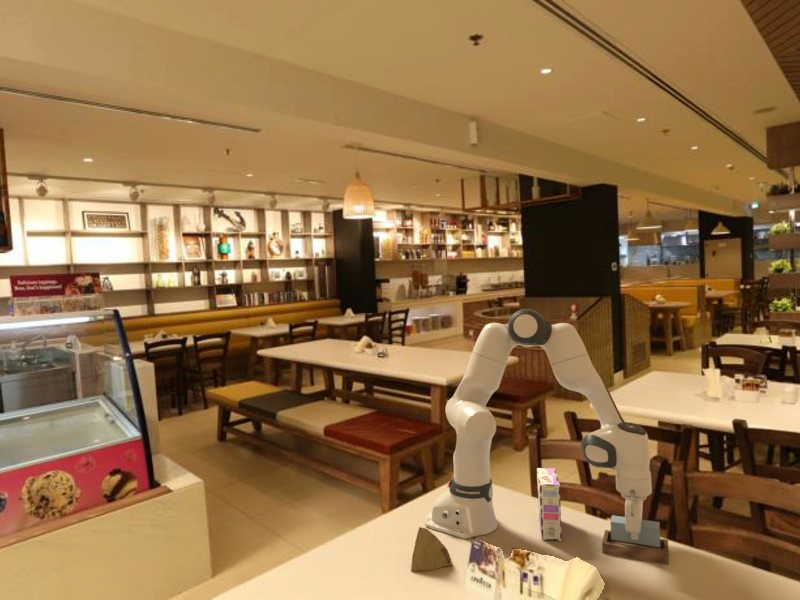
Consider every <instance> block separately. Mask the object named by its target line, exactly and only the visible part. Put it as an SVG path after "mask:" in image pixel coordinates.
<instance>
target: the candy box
mask: <svg viewBox="0 0 800 600" xmlns="http://www.w3.org/2000/svg"><path fill="white" fill-rule="evenodd" d="M536 481H537V500H538V502H537V503H538V516H539V517H538V519H539V520H538V521H539V529H540V534H541V540H542V541H555V542H556V541H557V542H561V541H563V536H562V511H561V510H562V509H561V508H562V507H561V506H562V505H561V485H560V480H559V477H558V473H557V470H556V468H555V467H553V468H552V467H546V468H545V467H544V468H543V467H537V468H536Z"/></svg>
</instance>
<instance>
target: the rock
mask: <svg viewBox="0 0 800 600" xmlns="http://www.w3.org/2000/svg"><path fill="white" fill-rule="evenodd" d="M416 534H417V535H416V538H415V543H414V547H413V553H412V556H411V557H412V558H411V565H410V566H411V568H410V572H411V573H413V572H427V571H432V570H436V569H441V568H443V567H449V566H452V565H453V562H452V558H451V555H450V553H449V551H448V549H447V547H446V546H445V544H443V543H442V541H441V540H440V539H439V538H438V537H437V536H436V535H435V534H434V533H432V531H430V530H429V528H428V529H427V528H426V527H421V526H420V527H419V528H418V531H417V533H416Z"/></svg>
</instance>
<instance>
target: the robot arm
mask: <svg viewBox="0 0 800 600" xmlns="http://www.w3.org/2000/svg"><path fill="white" fill-rule="evenodd" d="M536 346H537V347H540V348H542V349H543V350H544V352H545V354H546V356H547V358H548V360H549V363H550V366H551V370H552V373H553V375H554V376H555V378H556V381H557V382H558V384H559V385H560V386H562V388H564V389H566V390H569V391H572V392H577V393H580V394H581V395H583V396H585V397H586V398H587V400H589V402H590V404H591V406H592V408H593V410H594V413H595V414H596V416H597V418H598V420H599V422H600V428H599V429H596V430H595V431H592V432H590V433H588V434H586V435H585V436H584V437H582V439H581V442H580V451H581V454H582V457H583V458H584V459H585V461H586V462H587V463H589V464H590V465H591V466H593V467H596V468H603V469H605V468H606V469H614V471H615V490H616V491H617V492H618V493H620V494H621V495H620V496H621V497H622V498H623V499H624V500H625V502H624V517H625V529H626V531H627V532H629V533H631V539H632V540H638V539H639V534H640V533H641V524H642V520H643V506H644V505H643V504H644V501H646V500H647V497H648V496H650V495H651V494H652V492H653V490H652V472H651V470H650V464H651V463H650V462H651V448H650V441H649V436H648V433H647V431H646V430H645V428H643V427H642V426H640V425H638V424H636V423H633V422H626V421H625V420H624V418H623V416H622V415H621V412H620V411H619V409H618V407H617V405H616V403H615V401H614V399H613V396H612V395H611V392H610V391H609V389H608V387H607V385H606V383H605V381H604V380H603V379H602V376H600V375H599V373H598V372H597V370H596V368H595V367H594V365H593V362H592V360H591V359H590V356H589V354H588V351H587V349H586V346H585V344H584V342H583V340H582V338H581V337H580V334H579V332H578V331H577V329H576V328H575V327H574V325H572V324H570V323H568V322H567V323H566V322H559V323H555V324H552V323H551V321H550V322H549V320H547V319H546V318H545V317H544V316H542V315H541V313H539V312H537V311H536V310H533V309H530V308H523V309H519V310H517V311H515V312H514V313H513V314H512V315H511V316H510V318H509V320H508V322H507V323H505V324H503V323H501V322H500V323H499V322H491V323H486V324H485V325H484V327H483V328H482V329H481V331H480V334H479V335H478V337H477V339H476V341H475V344H474V347H473V349H472V351H471V354H470V358H469V361H468V363H467V366H466V369H465V373H464V374H463V378H462V379H461V380H460V383H459V385H458V386H457V388H456V389H455V392H454V394H453V396H451V398H449V400H448V401H447V402H446V404H445V411H444V412H445V416H446V419H447V421H448V423H449V424H450V425H451V427H453V429H455V432H456V442H455V443H456V444H455V450H454V453H453V455H452V460H453V461H452V462H453V463H452V464H453V475H452V476H451V478H450V479H449V480H448V482H447V483H446V485H447V490H446V491H445V492H444V493H442V494H441V495H439V496H438V497H437V498H436V499H435V501H434V502H433V505H432V509H431V511H430V512H429V513H428V514H427V515H426V517H425V519H424V526H425V528H426V527H427V528H428V527H429V528H428V529H433V530H434V531H438V532H442V533H444V534H448V535H451V536H455V537H458V538H461V539H464V540H465V539H471V538H473V537H477V536H484V535H488V534H490V533H493V532H494V531H496V529H498V527H499V523H498V521H497V518H496V514H495V509H494V505H493V496H494V495H493V494H494V492H493V491H494V489H493V488H494V487H493V483H492V482H493V481H492V478H491V463H490V453H491V452H490V451H491V446H492V441H493V437H494V436H495V434H496V432H497V422H496V420H495V417H494V415H493V414H492V412H491V411H490V410H489V409H488V408H487V407H486V406H487V404H488V402H489V400H490V399H491V397H492V396H493V394H494V393H495V392H496V391H497V390H498V389H499V388H500V385H501V382H502V379H503V376H504V374H505V370H506V367H507V364H508V360H509V358H510V355H511V353H512V351H513V349H514V348H515V347H517V348H518V347H519V348H520V347H523V348H533V347H536ZM448 488H449V489H448Z"/></svg>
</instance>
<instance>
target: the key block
mask: <svg viewBox="0 0 800 600" xmlns="http://www.w3.org/2000/svg"><path fill="white" fill-rule="evenodd" d="M660 524H661V523H660V521H653V520H648V519H647V520H646V519H642V524H641V533H640V534H639V539H638V540H632V539H631V533H629V532H627V531H626V529H625V516H619V515H611V518H610V531H611V540H618V541H624V542H630V543H636V544H642V545H648V546H654V547H660V539H661V528H660V527H661V526H660Z"/></svg>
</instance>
